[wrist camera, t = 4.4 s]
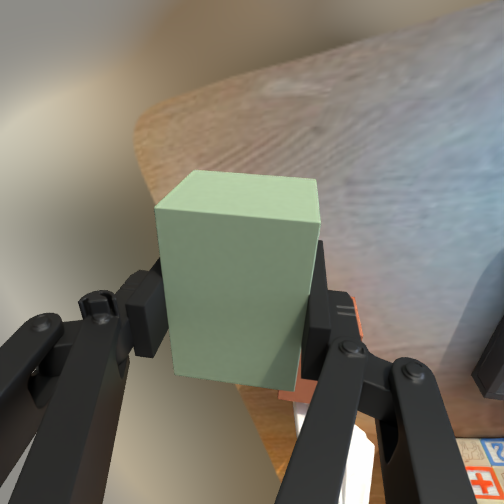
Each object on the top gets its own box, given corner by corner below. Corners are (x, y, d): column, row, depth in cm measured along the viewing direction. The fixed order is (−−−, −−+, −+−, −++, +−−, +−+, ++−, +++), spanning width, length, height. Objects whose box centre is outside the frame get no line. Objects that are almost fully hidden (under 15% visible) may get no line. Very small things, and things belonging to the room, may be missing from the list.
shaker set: (373, 432, 38) (396, 552, 29) (341, 440, 40) (353, 557, 30) (321, 367, 34) (329, 482, 25) (288, 379, 36) (282, 491, 26)
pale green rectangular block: (193, 169, 16) (153, 207, 12) (316, 178, 15) (321, 221, 11) (201, 310, 21) (173, 375, 16) (296, 322, 20) (294, 392, 16)
